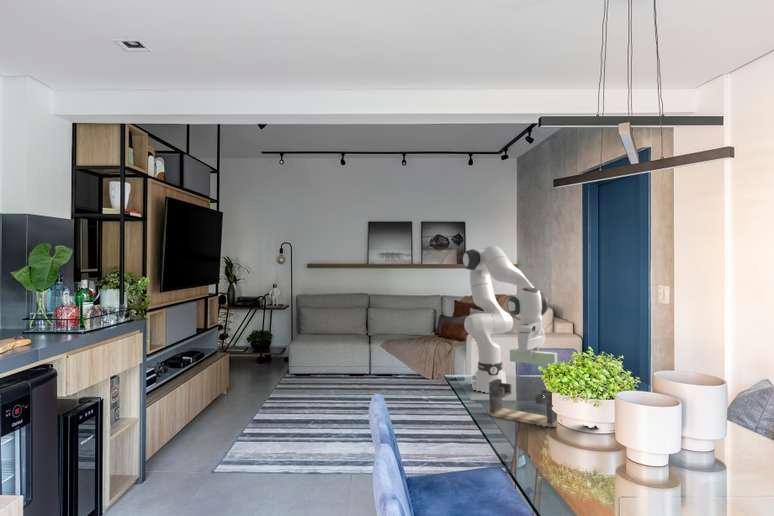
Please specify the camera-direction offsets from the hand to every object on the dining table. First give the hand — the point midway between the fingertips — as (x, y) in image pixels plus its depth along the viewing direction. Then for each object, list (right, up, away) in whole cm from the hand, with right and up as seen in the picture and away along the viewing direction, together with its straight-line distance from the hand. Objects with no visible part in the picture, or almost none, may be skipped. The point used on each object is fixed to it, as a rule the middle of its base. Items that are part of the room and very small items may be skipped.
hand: (532, 357), depth 214 cm
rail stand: (-6, -24, -8) cm, 26 cm away
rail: (0, -2, 0) cm, 2 cm away
